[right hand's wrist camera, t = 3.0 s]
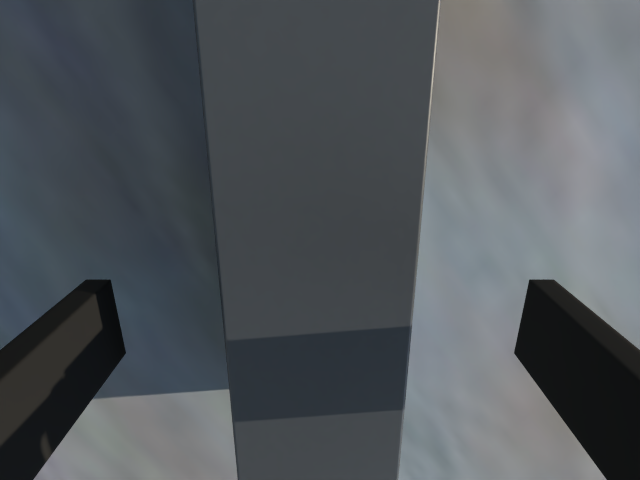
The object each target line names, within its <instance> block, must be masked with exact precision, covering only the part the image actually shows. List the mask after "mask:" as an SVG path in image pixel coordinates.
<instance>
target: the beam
mask: <svg viewBox="0 0 640 480" xmlns="http://www.w3.org/2000/svg"><path fill="white" fill-rule="evenodd" d="M440 5H441V0H193V7H194V18H195V29H196V39H197V50H198V61H199V71H200V82H201V93H202V103H203V114H204V124H205V135H206V146H207V156H208V167H209V178H210V188H211V199H212V209H213V220H214V231H215V241H216V252H217V263H218V273H219V284H220V295H221V305H222V316H223V326H224V337H225V348H226V358H227V369H228V380H229V390H230V401H231V412H232V422H233V433H234V443H235V454H236V465H237V475H238V480H398V475H399V464H400V453H401V442H402V430H403V419H404V408H405V397H406V386H407V374H408V363H409V352H410V341H411V330H412V319H413V307H414V296H415V285H416V274H417V263H418V251H419V240H420V229H421V218H422V207H423V195H424V184H425V173H426V162H427V151H428V139H429V128H430V117H431V106H432V95H433V83H434V72H435V61H436V50H437V39H438V27H439V16H440Z"/></svg>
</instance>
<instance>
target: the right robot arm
mask: <svg viewBox="0 0 640 480" xmlns="http://www.w3.org/2000/svg"><path fill="white" fill-rule="evenodd" d="M125 354H126V351H125V347H124V342H123V337H122V332H121V327H120V323H119V318H118V313H117V308H116V303H115V299H114V294H113V289H112V284H111V280H85V281H84V282H83V283H82V284H80V285H79V286H78V287H77V288H75V289H74V290H73V291H72V292H71V293H69V294H68V295H67V296H66V297H64V298H63V299H62V300H61V301H60V302H58V303H57V304H56V305H55V306H53V307H52V308H51V309H50V310H49V311H47V312H46V313H45V314H44V315H43V316H41V317H40V318H39V319H38V320H36V321H35V322H34V323H33V324H32V325H30V326H29V327H28V328H27V329H25V330H24V331H23V332H22V333H21V334H19V335H18V336H17V337H16V338H14V339H13V340H12V341H11V342H10V343H8V344H7V345H6V346H5V347H3V348H2V349H1V350H0V480H33V479H34V478H35V476H36V475H37V474H38V472H39V471H40V470H41V468H42V467H43V465H44V464H45V463H46V461H47V460H48V459H49V457H50V456H51V455H52V453H53V452H54V450H55V449H56V448H57V446H58V445H59V444H60V442H61V441H62V440H63V438H64V437H65V435H66V434H67V433H68V431H69V430H70V429H71V427H72V426H73V425H74V423H75V422H76V420H77V419H78V418H79V416H80V415H81V414H82V412H83V411H84V409H85V408H86V407H87V405H88V404H89V403H90V401H91V400H92V399H93V397H94V396H95V394H96V393H97V392H98V390H99V389H100V388H101V386H102V385H103V384H104V382H105V381H106V379H107V378H108V377H109V375H110V374H111V373H112V371H113V370H114V369H115V367H116V366H117V364H118V363H119V362H120V360H121V359H122V358H123V356H124V355H125ZM514 354H515V355H516V356H517V358H518V359H519V360H520V362H521V363H522V364H523V366H524V367H525V369H526V370H527V371H528V373H529V374H530V375H531V377H532V378H533V379H534V381H535V382H536V384H537V385H538V386H539V388H540V389H541V390H542V392H543V393H544V394H545V396H546V397H547V399H548V400H549V401H550V403H551V404H552V405H553V407H554V408H555V409H556V411H557V412H558V414H559V415H560V416H561V418H562V419H563V420H564V422H565V423H566V425H567V426H568V427H569V429H570V430H571V431H572V433H573V434H574V435H575V437H576V438H577V440H578V441H579V442H580V444H581V445H582V446H583V448H584V449H585V450H586V452H587V453H588V455H589V456H590V457H591V459H592V460H593V461H594V463H595V464H596V465H597V467H598V468H599V470H600V471H601V472H602V474H603V475H604V476H605V478H606V479H607V480H640V350H639V349H638V348H637V347H635V346H634V345H633V344H632V343H630V342H629V341H628V340H627V339H626V338H624V337H623V336H622V335H621V334H619V333H618V332H617V331H616V330H615V329H613V328H612V327H611V326H610V325H608V324H607V323H606V322H605V321H604V320H602V319H601V318H600V317H599V316H597V315H596V314H595V313H594V312H593V311H591V310H590V309H589V308H588V307H587V306H585V305H584V304H583V303H582V302H580V301H579V300H578V299H577V298H576V297H574V296H573V295H572V294H571V293H569V292H568V291H567V290H566V289H565V288H563V287H562V286H561V285H560V284H558V283H557V282H556V281H555V280H529V284H528V289H527V294H526V299H525V303H524V308H523V313H522V318H521V323H520V327H519V332H518V337H517V342H516V347H515V351H514Z"/></svg>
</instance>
